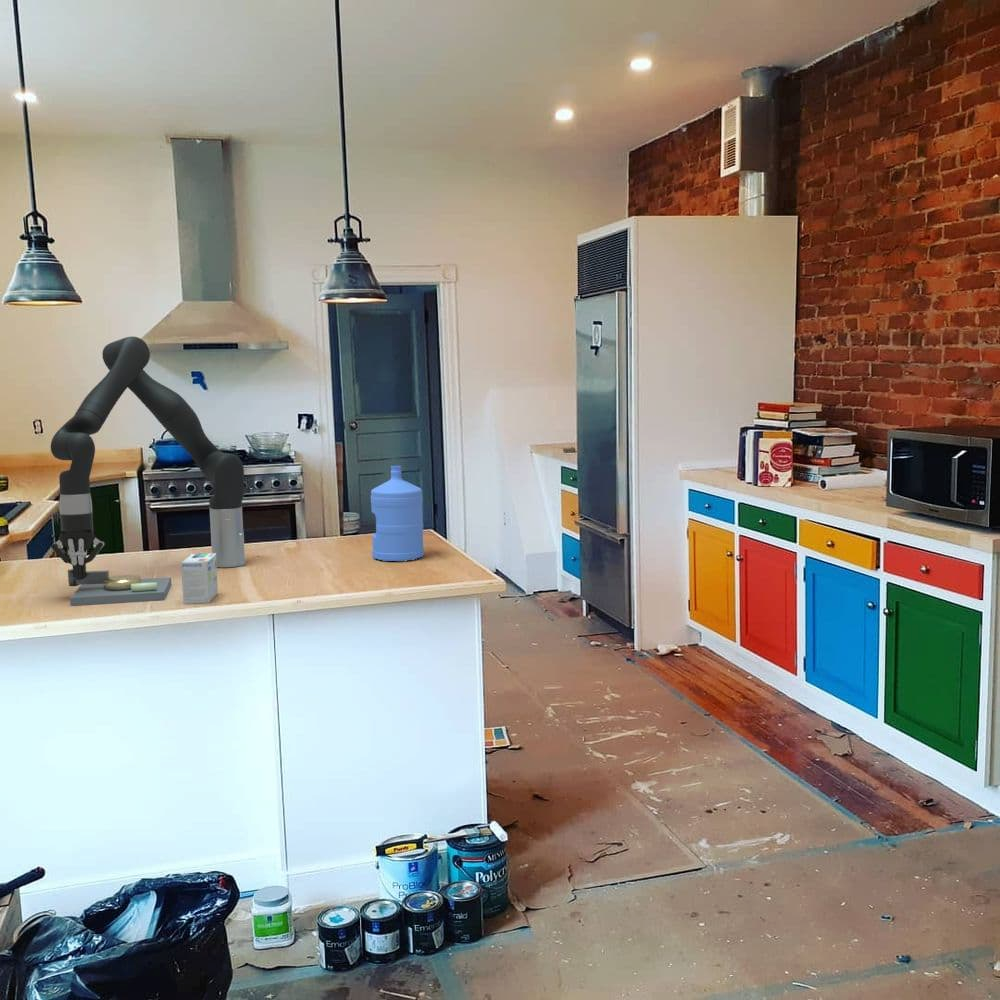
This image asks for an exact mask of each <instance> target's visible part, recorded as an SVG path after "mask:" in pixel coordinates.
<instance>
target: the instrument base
mask: <svg viewBox="0 0 1000 1000" xmlns="http://www.w3.org/2000/svg"><path fill="white" fill-rule="evenodd" d="M170 586H172V577H168V576H167V577H156V578H155V577H154V578H153V577H152V578H141V583H136V584H131V589H125V590H107V589H104V584H83V585H79V587H78V588H77V590H75V592H73V594H72V595H71V596H70V598H69V601H70V606H71V607H73V606H74V607H75V606H89V605H90V606H91V604H92V605H105V604H106V603H108V604H120V603H121V602H124V603H135V602H136V603H137V602H138V603H139V601H140V602H153V601H165V600H164V599H166V598H167V595H168V593H169V591H170V589H171V587H170Z"/></svg>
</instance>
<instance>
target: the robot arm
mask: <svg viewBox="0 0 1000 1000" xmlns="http://www.w3.org/2000/svg"><path fill="white" fill-rule="evenodd" d="M101 353H102V360H103V363H104V365H105V366H106V368H107V369H108V372H107V374H106V375H105V376H104V377H103V378H102V380H100V381H99V382H98V383H97V384H96V385H95V386H94V387H93V388H92V390H90V391H89V393H87V394H86V395H85V397H84V399H83V400H82V402H81V404H80V405H79V407H78V409H77V410H76V411H75V413H74V415H73V416H72V417H71V418H70V419H68V420H67V421H66V422H65V423H64V424H63V425H62V426H61V427H60V428H59V429H58V430H57V432H55V433H54V435H53V437H52V439H51V442H50V452H51V454H52V456H53V457H54V458H56V459H57V460H60V461H71V464H70V467H69V468H68V469H66V470H64V471H62V472H60V474H59V476H58V477H59V479H58V480H59V481H58V483H59V508H58V510H59V516H60V517H59V519H60V521H59V522H60V535H59V538H58V540H57V541H55V542H54V543H52V544H50V548H51V549H52V550H53V552H54V553H55V554H56V555H58V557H59V558H60V559H61V560H62V561H63V563H65V564H70V565H72V569H73V576H74V578H76V580H82V579H84V577H85V576H86V571H87V565H86V564H89V563H90V562H92V561H93V560H94V559H95V558H96V556H97V555H98V554H99V553H100V551H101V550H102V548H103V547H104V546H105V541H101V540H100V539H98V538H97V536H96V534H95V532H94V520H93V519H94V515H93V501H92V500H93V499H92V496H91V484H90V483H91V481H90V476H91V472H92V468H93V463H94V459H95V455H96V454H95V453H96V445H95V442H94V440H93V438H92V437H91V435H95V434H96V433H99V431H100V430H101V428H102V427H103V425H104V424H105V422H106V420H107V419H108V417H109V415H110V414H111V412H112V411H113V409H114V407H115V406H116V405H117V403H118V401H119V400H120V398H121V397H122V395H123V394H124V393H125V391H126V390H127V389H129V390H130V391H131V392H132V394H134V395H135V396H136V398H137V399H138V400H139V401H140V402H141V403H142V404H143V405H144V406H145V407H146V408H147V410H148V411H149V412H150V413H151V414H152V416H154V417H155V419H156V420H157V421H158V422H159V423H160V424H161V426H162V427H163V428H164V429H165V430H166V431H167V432H168V433H169V434H170V435H171V436H172V438H173V439H175V441H176V442H177V443H178V444H179V445H180V446H181V447H182V448H183V449H184V450H185V451H186V453H188V455H189V456H190V457H191V458H192V460H193V461H194V463H195V465H196V466H197V467H198V468H199V471H200V472H201V474H203V476H204V477H205V478H206V479H207V481H208V480H209V481H210V482H211V483H214V494H213V495H212V496H211V497H210V498H209V500H208V505H209V507H208V508H209V522H210V523H209V524H210V542H211V553H216V563H217V568H233V567H235V568H236V567H241V566H242V567H243V566H245V564H246V557H245V556H246V554H245V535H244V533H245V531H244V522H243V521H244V520H243V519H244V518H243V500H244V497H245V469H244V464H243V460H241V458H240V457H239V456H238V455H236V454H233V453H229V452H222V451H221V450H220V449H219V448H217V446H215V444H214V443H213V442H212V441H211V440H210V439H209V438H208V436H207V435H206V434H205V432H204V428H203V427H202V424H201V421H200V419H199V417H198V414H196V412H195V411H194V409H193V408H192V407H191V406H190V404H189V403H188V402H187V401H186V400H185V399H184V398H183V397H182V396H181V395H180V394H179V393H178V392H176V391H175V390H172V389H171V388H169V387H167V386H165V385H164V384H162V383H160V382H159V381H156V380H155V379H154V378H152V377H151V376H150V375H149V374H148V373H147V372H146V371H145V369H144V368H146V366H148V363H149V362H150V359H151V358H150V357H151V352H150V348H149V346H148V344H147V343H146V342H145V340H143V339H142V338H140V337H138V336H127V337H123V338H120V339H118V340H114V341H113V342H110V343H108V344H106V345H105V346H104V347H103V350H102V352H101ZM92 545H93V546H92ZM91 546H92V547H93V548H94V549H92V551H91V552H90V553H89V554H88V550H89V549H90V547H91ZM63 548H66V549H67V551H68V552H69V553H67V551H65V550H64V549H63ZM87 554H88V556H87Z"/></svg>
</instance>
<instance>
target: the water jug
mask: <svg viewBox="0 0 1000 1000" xmlns="http://www.w3.org/2000/svg"><path fill="white" fill-rule="evenodd" d="M390 470H391V471H390V479H389V480H388V481H386V482H384V483H382V484H380V485H378V486H376V487H374V488H373V489H371V491H370V506H371V513H372V514H374V515H375V529H376V530H375V531H376V532H375V533H372V539H371V540H372V549H371V550H372V552H371V553H372V558H373V559H374V560H376V559H378V560H377V561H379V560H382V561H381V562H386V561H403V562H406V561H405V560H412V561H414V560H413V559H416V560H418V559H417V558H419V559H421V558H422V557H424V554H425V549H424V519H423V518H424V517H423V500H424V499H423V490H422V488H421V487H419V486H417V485H414V484H413V483H410V482H409V481H406V480H404V479H403V478H402V465H390ZM420 557H421V558H420Z"/></svg>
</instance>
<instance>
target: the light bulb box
mask: <svg viewBox="0 0 1000 1000" xmlns="http://www.w3.org/2000/svg"><path fill="white" fill-rule="evenodd" d="M180 568H181V583H182V600H183V602H182V603H183V605H184V604H185V605H186V604H188V605H189V604H190V605H192V604H193V605H194V604H210V603H211V602H212V600H214V598H215V597H216V596H217V595H218V594H219V589H218V588H219V585H218V583H219V581H218V567H217V563H216V553H212V552H211V553H190V554H189V555H188V556H187V557H186V558H185V559H184V560H183V561H181V562H180Z"/></svg>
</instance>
